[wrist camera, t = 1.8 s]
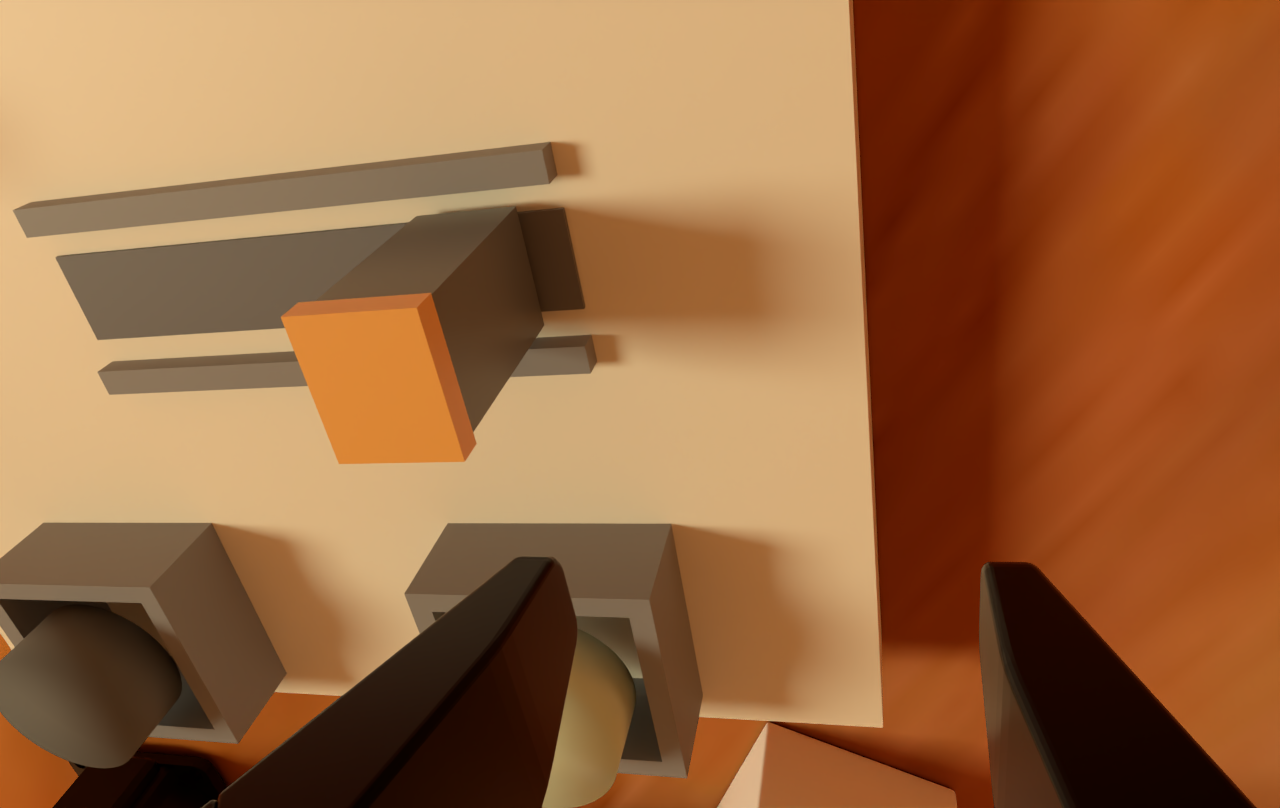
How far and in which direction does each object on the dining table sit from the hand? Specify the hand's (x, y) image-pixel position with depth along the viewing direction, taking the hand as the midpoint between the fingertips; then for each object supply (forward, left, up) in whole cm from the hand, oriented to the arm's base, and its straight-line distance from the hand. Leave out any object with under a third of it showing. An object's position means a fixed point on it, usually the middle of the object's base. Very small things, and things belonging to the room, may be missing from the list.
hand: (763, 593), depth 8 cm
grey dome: (-9, +18, -7) cm, 21 cm away
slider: (0, +6, -9) cm, 11 cm away
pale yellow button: (-9, +6, -7) cm, 13 cm away
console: (-3, +12, -12) cm, 17 cm away
